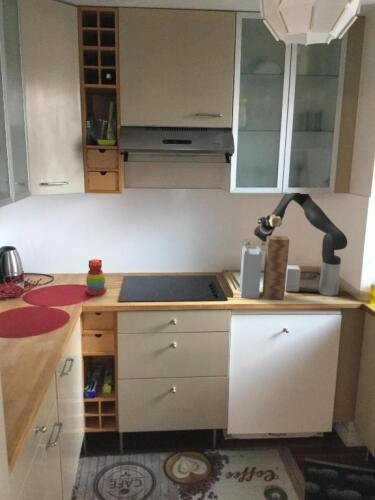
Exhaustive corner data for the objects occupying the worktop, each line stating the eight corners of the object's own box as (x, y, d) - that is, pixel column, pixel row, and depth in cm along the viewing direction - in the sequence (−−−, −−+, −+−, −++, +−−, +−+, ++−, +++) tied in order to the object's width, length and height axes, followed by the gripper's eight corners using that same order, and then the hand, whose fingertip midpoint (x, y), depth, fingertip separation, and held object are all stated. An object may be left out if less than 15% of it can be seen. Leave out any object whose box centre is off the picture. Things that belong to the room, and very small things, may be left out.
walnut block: (281, 295, 228) (286, 236, 219) (283, 300, 221) (289, 239, 212) (262, 294, 228) (266, 235, 219) (264, 299, 221) (269, 239, 212)
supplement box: (298, 291, 234) (301, 269, 230) (285, 291, 234) (287, 269, 230) (295, 286, 241) (298, 265, 237) (282, 286, 241) (284, 264, 238)
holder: (256, 291, 233) (259, 246, 226) (258, 298, 223) (262, 251, 216) (239, 290, 233) (242, 245, 226) (241, 297, 223) (244, 251, 217)
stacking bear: (106, 287, 232) (105, 256, 227) (107, 295, 222) (106, 261, 217) (85, 289, 229) (84, 256, 224) (85, 296, 220) (84, 262, 215)
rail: (274, 220, 237) (275, 212, 235) (280, 226, 222) (280, 218, 221) (266, 220, 237) (267, 212, 236) (271, 226, 222) (272, 218, 221)
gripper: (254, 219, 249) (259, 209, 232) (279, 220, 249) (286, 210, 232) (254, 231, 247) (259, 223, 230) (279, 232, 247) (286, 223, 230)
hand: (272, 216), depth 231 cm, fingers closed on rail, 3 cm apart
